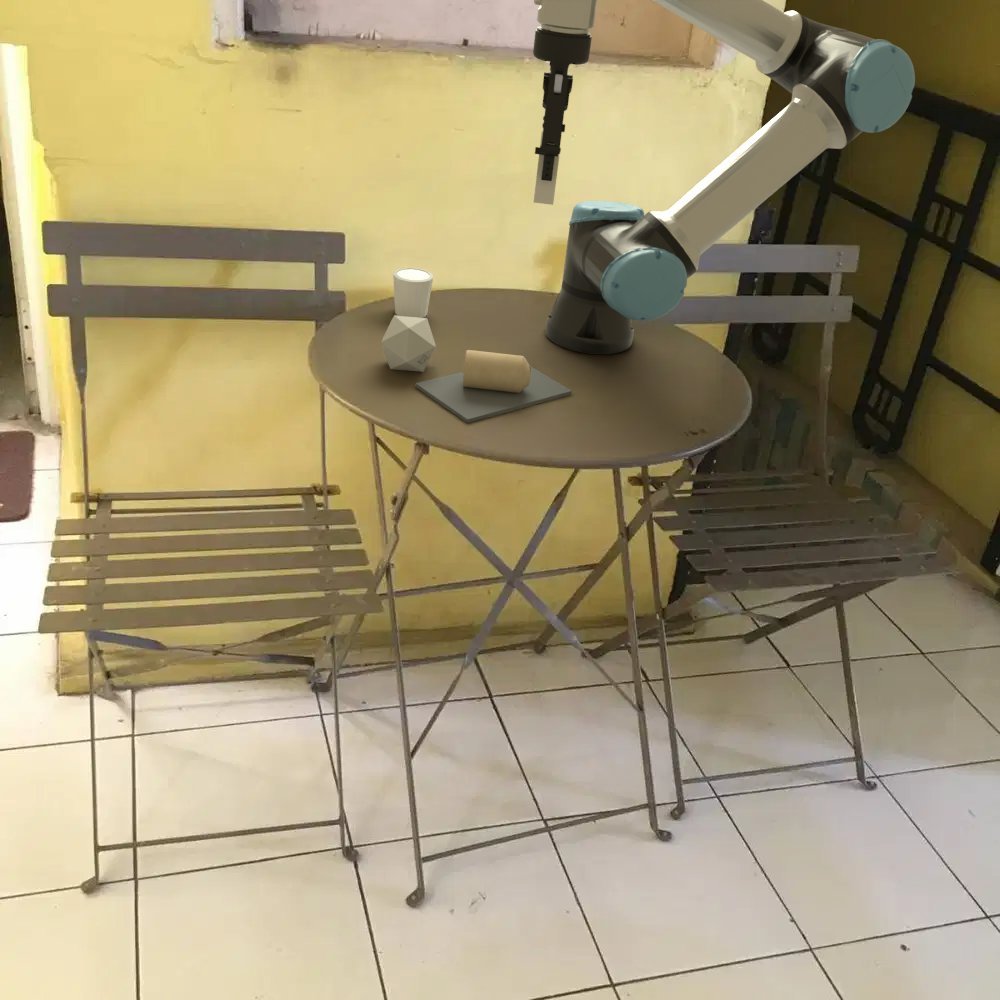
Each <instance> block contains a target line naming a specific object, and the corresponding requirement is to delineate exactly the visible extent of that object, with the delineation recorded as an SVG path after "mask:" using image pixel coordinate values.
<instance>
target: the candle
mask: <svg viewBox="0 0 1000 1000" xmlns="http://www.w3.org/2000/svg"><path fill="white" fill-rule="evenodd" d="M530 366H531V365H530V364H529V362H528V360H527V359H526V358H525V356H524V355H516V354H508V353H499V352H492V351H491V352H490V351H482V350H481V351H480V350H472V349H467V350H466V351H465V356H464V365H463V372H464V373H463V386H464V387H471V388H480V389H489V390H497V391H506V392H515V393H519V392H521V391H522V390H523V389H524V388H526V387H527V386H529V382H530V378H531V375H530V374H531V367H532V366H531V367H530Z"/></svg>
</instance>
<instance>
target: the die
mask: <svg viewBox="0 0 1000 1000" xmlns="http://www.w3.org/2000/svg"><path fill="white" fill-rule="evenodd" d="M380 343H381V346H382V350H383V352H384V355H385V358H386V361H387V364H388V366H389V368H390V370H394V371H395V370H397V371H405V372H406V371H409V372H410V371H411V372H418V373H419V372H420V373H424V371H425V369H426V367H427V365H428V363H429V361H430V359H431V356H432V354H433V353H434V351H435V349H436V342H435V339H434V336H433V333H432V330H431V327H430V323H429V320H428V318H427V317H424V318H418V317H406V316H398V315H396V314H395V315H393V317H392V319H391V321H390V322H389V325H388V327H387V329H386V331H385V333H384V335H383V337H382V340H380Z"/></svg>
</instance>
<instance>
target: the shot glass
mask: <svg viewBox="0 0 1000 1000" xmlns="http://www.w3.org/2000/svg"><path fill="white" fill-rule="evenodd" d="M392 275H393V278H392V279H393V297H394V313H395V315H396V316H406V317H418V318H426V317H427V316H428V311H429V306H430V300H431V299H430V298H431V292H432V287H433V279H434V274H433V273H432V272H430V271H428V270H426V269H422V268H417V267H403V268H399V269H396V270H394V271H393V274H392ZM426 315H427V316H426Z"/></svg>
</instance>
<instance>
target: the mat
mask: <svg viewBox="0 0 1000 1000" xmlns="http://www.w3.org/2000/svg"><path fill="white" fill-rule="evenodd" d="M530 367H531V374H530V375H531V378H530V382H529V386H527V387H526V388H524V389H523V390H522V391H521V392H519V393H515V392H506V391H497V390H489V389H480V388H471V387H464V386H463V373H464V371H461V372H457V373H452V374H448V375H447V374H446V375H444V376H439V377H435V378H431V379H428V380H423V381H419V382H418V381H417V382H416V383H415V388H417V389H418V390H419V391H421V392H422V393H423V394H425V395H426V396H427V397H428V398H431V399H432V400H433V401H435V402H436V403H438V404H439V405H441V406H442V407H443V408H445V409H446V410H448V411H449V412H451V413H452V414H454V416H456V417H458V418H459V419H461V420H463V421H464V422H465V423H467V424H469V423H473V422H475V421H480V420H485V419H487V418H490V417H496V416H498V415H501V414H502V415H503V414H505V413H509V412H512V411H516V410H519V409H523V408H527V407H531V406H534V405H538V404H542V403H544V402H548V401H553V400H556V399H559V398H563V397H566V396H570V395H572V392H573V390H571V389H569V388H568V387H566V386H565V385H563V384H561V383H560V382H558V381H556V380H555V379H553V378H551V377H550V376H548V375H546V374H545V373H543V372H541V371H540V370H538V369H536V368H535V367H533V366H531V365H530Z"/></svg>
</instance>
